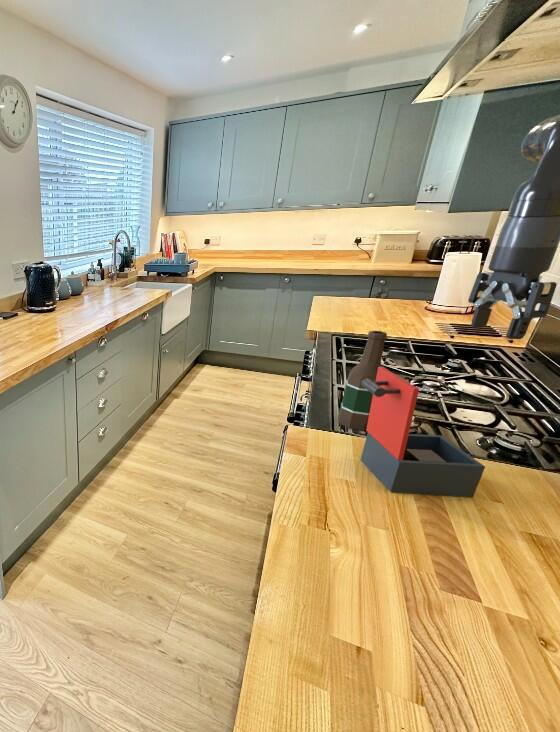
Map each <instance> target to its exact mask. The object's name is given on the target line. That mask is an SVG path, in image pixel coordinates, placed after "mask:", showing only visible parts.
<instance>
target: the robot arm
mask: <svg viewBox="0 0 560 732" xmlns="http://www.w3.org/2000/svg"><path fill="white" fill-rule="evenodd" d="M520 152H521V155H522V156H523V157H524V158H525V159H526V160H528V161H530V162H533V163H538V165H537V166H536V168H535V170H534V172H533V174H532V176H531V177H530V178H529V179H527V180H526V181H524V182H523V183H521V184H520V185H519V186H518V187H517V189H516V191H515V192H514V195H513V197H512V200H511V202H510V203H511V204H510V207H509V209H508V212H507V214H506V215H507V217H506V219H505V221H504V222H503V225H502V227H501V228H500V231H499V233H498V236H497V240H496V243H495V245H494V249H493V252H492V255H491V258H490V261H489V264H488V267H487V268H488V270H489V271H490V272H478V273H477V274H476V277H475V281H474V283H473V286H472V289H471V291H470V294H469V297H468V300H467V301H468V303H469V304H473V307H474V308H475V310H474V312H473V316H472V319H471V323H470V326H471V327H473V328H478V329H479V328H480V329H481V328H486V327H487V325H488V322H489V320H490V317H491V314H492V311H493V307H494V306H495V305H496V304H497V303H498V302H501V301H502V303H503V302H504V303H506V305H507V307H508V308H510V309H511V312H512V315H513V317H512V318H511V321H510V324H509V325H508V329H507V331H506V335H505V338H506V339H509V340H522V339H523V338H524V337H525V336H526V335H527V331H528V329H529V327H530V324H531V322H532V320H533V319H539V318H545V317H546V316H547V315H548V312H549V310H550V306H551V304H552V300H553V297H554V294H555V291H556V288H557V282H555V281H540V276H541V275H542V274H543V273H546V272H549V270H550V268H551V266H552V263H553V261H554V257H555V255H556V252H557V250H558V247H559V245H560V114H558V115H555V116H551V117H548V118H546V119H545V120H543V121H541V122H540V123H537V125H535V126H533V128H531V129H530V131H528V132H527V133H526V135H525V136H524V137H523V140H522V142H521V145H520ZM491 271H492V272H491ZM480 292H481V293H480ZM479 293H480V294H479ZM478 295H479V296H478ZM538 304H539V307H538V309H537V310H536V307H537V305H538ZM523 309H524V310H523Z"/></svg>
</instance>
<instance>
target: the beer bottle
mask: <svg viewBox="0 0 560 732" xmlns="http://www.w3.org/2000/svg"><path fill="white" fill-rule="evenodd" d="M386 339H388V334H387V332H385V331H382V330H371V331H369V332H368V333H367V340H366V344H365V347H364V350H363V354H362V356H361V359H360V361H359V362H358V363H357V364H356V365H354V366H353V367H352V368H351V370H350V371H349V373H348V376H347V378H346V383H345V387H344V391H343V395H342V400H341V404H340V408H339V413H338V423H339V425H341V426H343V427H345V428H347V429H349V430H356V431H363V432H364V431H366V428H367V423H368V418H369V413H370V408H371V402H372V397H373V394H372V393H371V392H370V391H368V390H367V389H366V388H364V387H363V386H362V385H361V382H362V380H364V379H370V380H372V381H376V376H377V371H378V367H382V358H383V352H384V347H385V341H386Z"/></svg>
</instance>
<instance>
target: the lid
mask: <svg viewBox="0 0 560 732" xmlns="http://www.w3.org/2000/svg"><path fill="white" fill-rule="evenodd" d="M361 385H362V386H363V387H364V388H366V389H367V390H368V391H370V392H371V393H372V394H373V397H372V402H371V408H370V413H369V418H368V423H367V428H366V430H365V431H366V432H367V433H369V434H370V435H372V436H373V437H374V438H375V439H376V440H377V441H378V442H379V443H380V444H381V445H382V446H383V447H384V448H386V449H387V450H388V451H389V452H390V453H391V454H392V455H393V456H394V457H395V458H396V459H397V460H403V456H404V452H405V448H406V443H407V439H408V435H409V434H410V431H411V425H412V422H413V418H414V414H415V409H416V404H417V401H418V396H419V392H420V388H418V387H417V386H415V385H414V384H412V383H410V382H409V381H407V380H406V379H404V378H402V377H400V376H399V375H397V374H396V373H395V372H392V371H390V369H387V368H386V367H384V366H381V367H378V371H377V376H376V381H372V380H370V379H364V380H362V382H361Z"/></svg>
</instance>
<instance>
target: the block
mask: <svg viewBox="0 0 560 732" xmlns="http://www.w3.org/2000/svg"><path fill="white" fill-rule="evenodd" d="M403 460H408V461H427V462H446V461H445V460H443V459H442V458H441V457H440V456H438V455H437V454H436V453H434V452H433V451H432V450H418V449H406V451H405V454H404V458H403Z"/></svg>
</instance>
